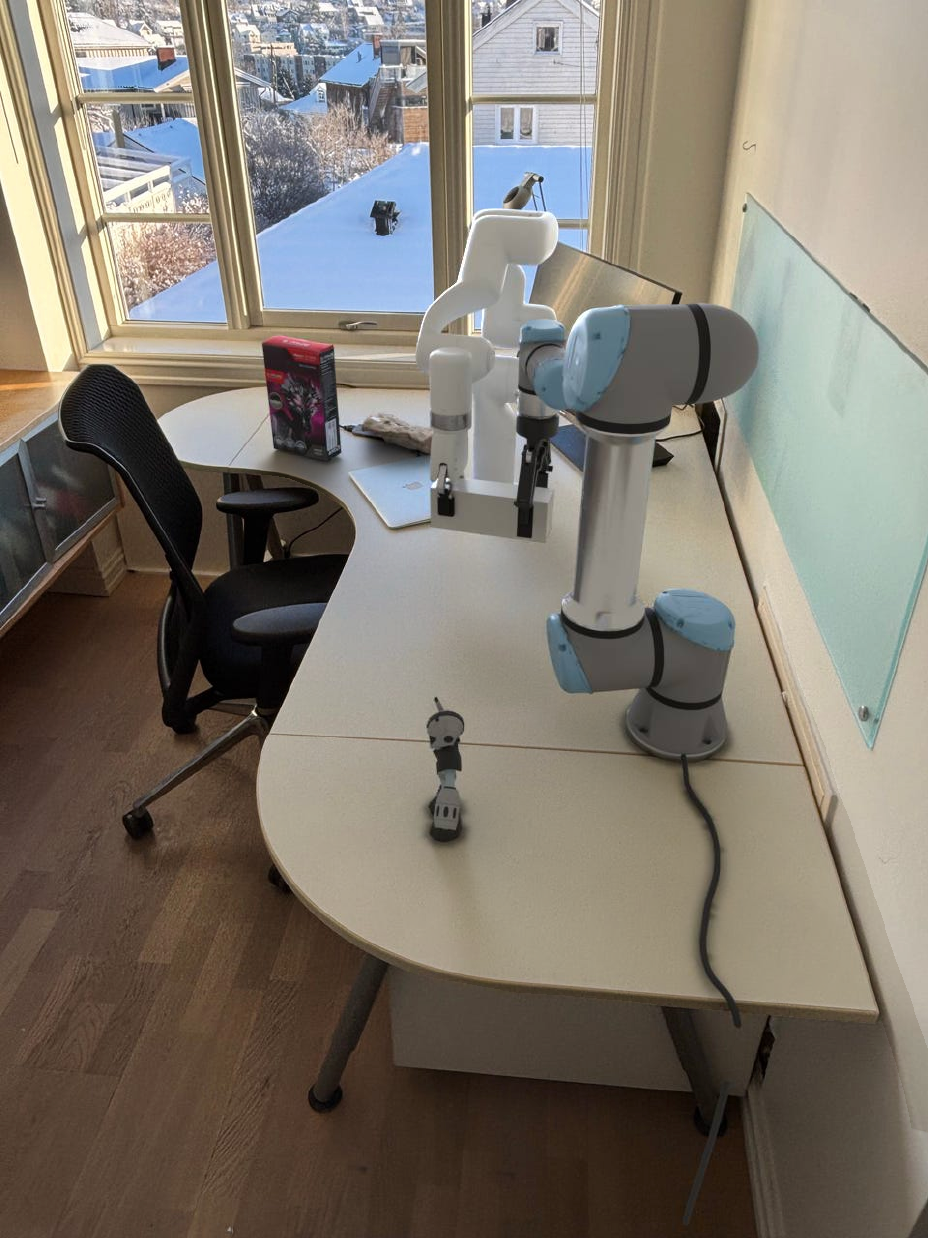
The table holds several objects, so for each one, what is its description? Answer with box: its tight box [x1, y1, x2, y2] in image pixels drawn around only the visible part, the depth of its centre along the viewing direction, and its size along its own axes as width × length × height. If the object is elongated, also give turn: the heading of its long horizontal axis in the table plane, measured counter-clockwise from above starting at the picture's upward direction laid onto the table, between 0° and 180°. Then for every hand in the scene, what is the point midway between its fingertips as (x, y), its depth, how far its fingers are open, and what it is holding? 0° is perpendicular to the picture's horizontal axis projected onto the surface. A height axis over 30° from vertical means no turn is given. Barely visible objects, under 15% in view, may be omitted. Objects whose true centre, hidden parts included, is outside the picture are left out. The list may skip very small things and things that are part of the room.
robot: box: [425, 696, 465, 842], centre depth 121 cm, size 20×5×20 cm, turn 3°
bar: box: [429, 477, 555, 544], centre depth 174 cm, size 22×6×8 cm, turn 75°
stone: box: [360, 412, 433, 454], centre depth 233 cm, size 21×15×6 cm
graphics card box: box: [261, 334, 342, 462], centre depth 222 cm, size 17×7×27 cm, turn 62°
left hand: (451, 506), depth 176 cm, fingers closed on bar, 6 cm apart
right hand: (532, 519), depth 173 cm, fingers open, 13 cm apart
